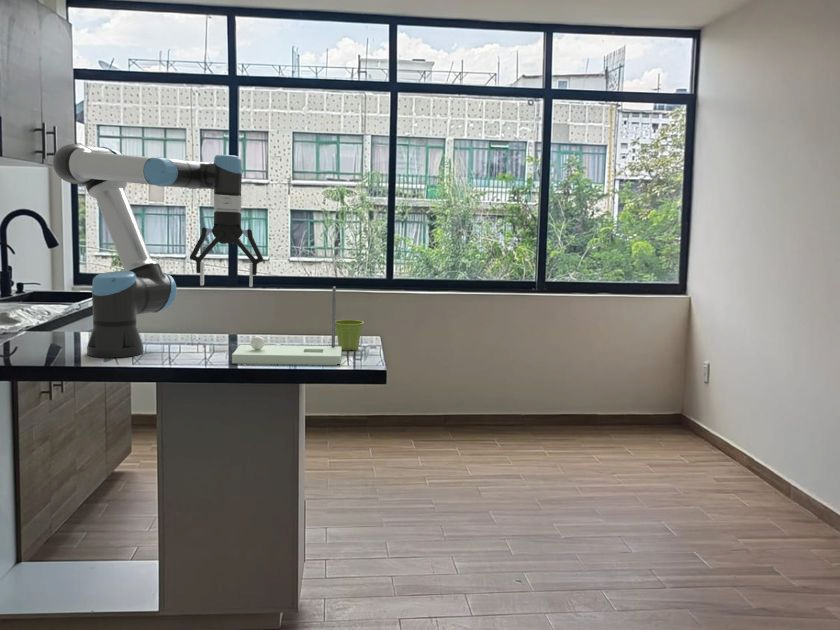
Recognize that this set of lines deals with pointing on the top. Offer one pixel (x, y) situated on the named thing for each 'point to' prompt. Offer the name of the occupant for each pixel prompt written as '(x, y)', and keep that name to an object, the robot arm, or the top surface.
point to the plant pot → (348, 333)
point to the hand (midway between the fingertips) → (226, 285)
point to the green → (292, 351)
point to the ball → (257, 342)
